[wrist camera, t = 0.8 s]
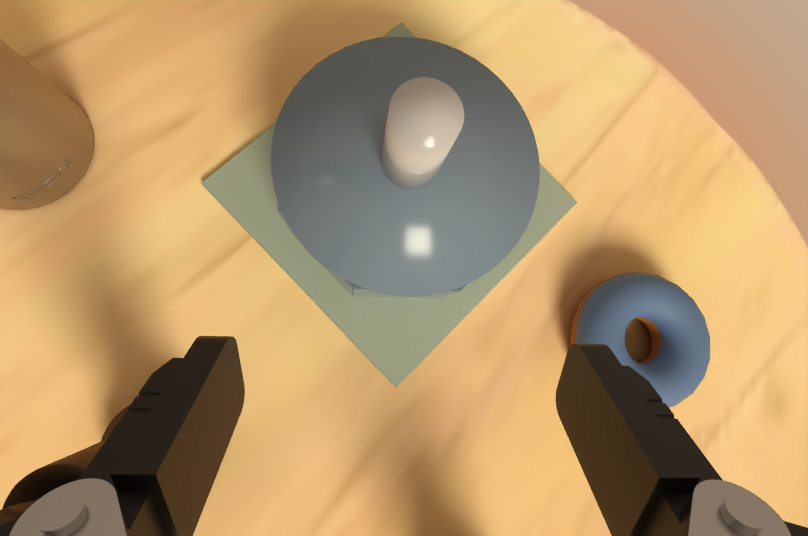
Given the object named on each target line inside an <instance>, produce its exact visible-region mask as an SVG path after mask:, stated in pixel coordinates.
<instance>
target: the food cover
mask: <svg viewBox="0 0 808 536" xmlns="http://www.w3.org/2000/svg"><path fill="white" fill-rule="evenodd" d="M271 173H272V179H273V186H274V190H275V193H276V197H277V200H278V204H277V210H278V212H279V214H280V215H281V217H282V219H283V220H284V222H285V223H286V225H287V227H288V228H289V230H290V232H291V233H292V234H293V235H294V236H295V237H296V238H297V239H298V241H299V242H300V243H301V244H302V245H303V247H304V248H305V249H306V250H307V251H308V253H309V254H310V255H311V256H312V257H314V258H315V259H316V260H317V261H318V262H319V263H320V264H321V265H322V266H323V267H325V268H326V269H327V270H328V271H329V272H330V273H331V274H332V276H333V277H334V278H335V279H336V280H337V281H338V282H339V283H340V284H341V285H342V286H343V287H344V288H345V289H346V290H347V291H348V292H349V293H350V294H351V295H352V296H359V297H404V298H443V297H446V296H449V295H451V294H454V293H457V292H460V291H461V290H462V289H463V288H464V287H465V286H466V285H467V284H468V283H470V282H472V281H475V280H477V279H478V278H480V277H481V276H483V275H484V274H486V273H488V272H489V271H491V270H492V269H493V268H494V267H495V266H497V265H498V264H499V263H500V262H501V261H502V260H503V259H505V258H506V256H507V255H508V254H509V253H510V252H511V251H512V249H513V248H514V247H515V246H516V244H517V243H518V241H519V240H520V238H521V237H522V235H523V234H524V232H525V230H526V228H527V226H528V224H529V222H530V219H531V217H532V214H533V211H534V208H535V205H536V201H537V196H538V189H539V177H540V166H539V156H538V149H537V145H536V141H535V137H534V134H533V131H532V128H531V126H530V123H529V120H528V118H527V116H526V115H525V113H524V111H523V109H522V107H521V105H520V104H519V102H518V101H517V99H516V98H515V96H514V95H513V93H512V92H511V91H510V90H509V89H508V87H507V86H506V85H505V84H504V83H503V82H502V81H501V79H499V78H498V77H497V76H496V75H495V74H494V73H493V72H492V71H491V70H490V69H488V68H487V67H486V66H484V65H483V64H481V63H480V62H479V61H477V60H476V59H474V58H472V57H471V56H469V55H467V54H465V53H463V52H462V51H460V50H457V49H455V48H452V47H450V46H447V45H445V44H441V43H438V42H434V41H431V40H426V39H420V38H413V37H385V38H376V39H372V40H367V41H362V42H359V43H356V44H354V45H351V46H348V47H345V48H343V49H341V50H339V51H337V52H335V53H333V54H331V55H330V56H328V57H327V58H325V59H324V60H322V61H321V62H320V63H318V64H317V65H316V66H314V67H313V68H312V69H311V70H310V71H309V72H308V73H307V74H306V75H305V76H304V77H303V78H302V79H301V80H300V82H299V83H298V84H297V85H296V86H295V87H294V89H293V90H292V92H291V94H290V95H289V97H288V98H287V100H286V102H285V103H284V106H283V108H282V110H281V112H280V115H279V117H278V120H277V123H276V127H275V130H274V134H273V140H272V148H271Z"/></svg>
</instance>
